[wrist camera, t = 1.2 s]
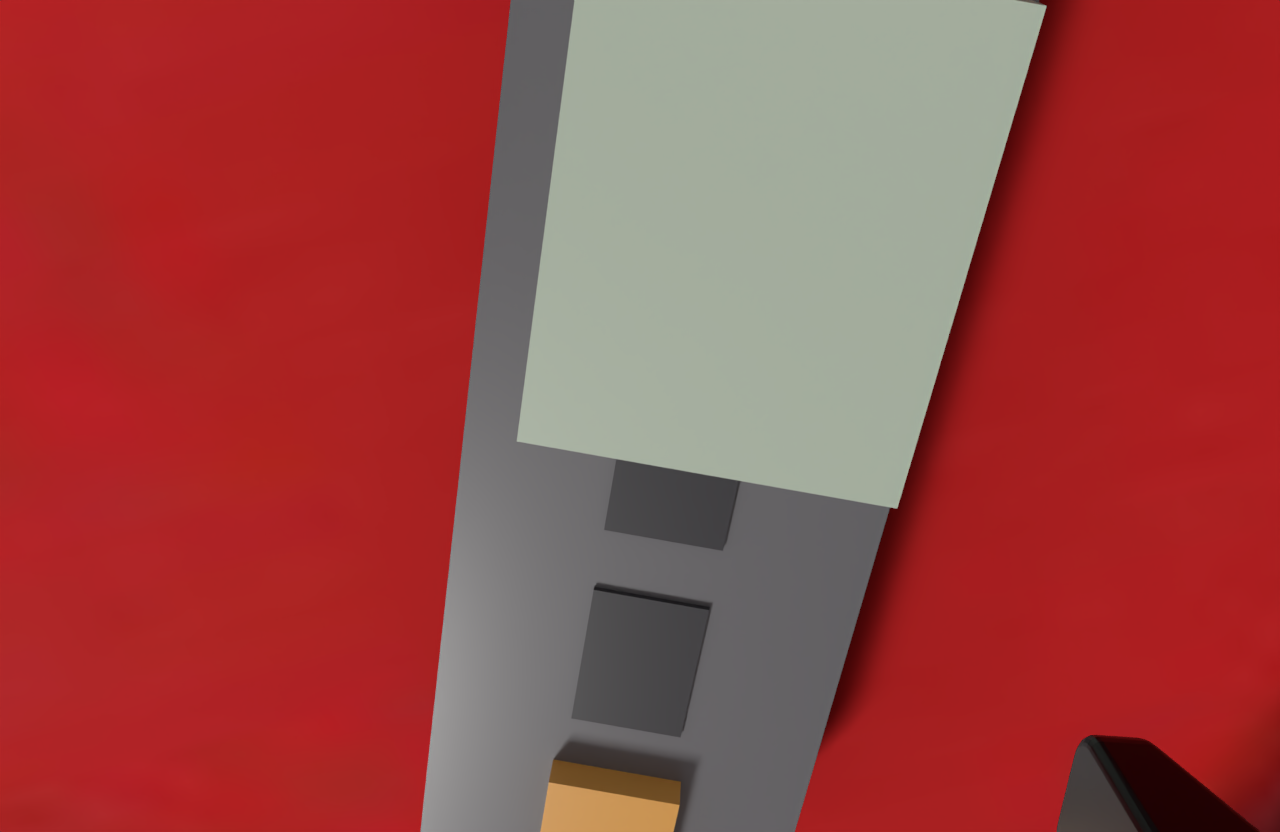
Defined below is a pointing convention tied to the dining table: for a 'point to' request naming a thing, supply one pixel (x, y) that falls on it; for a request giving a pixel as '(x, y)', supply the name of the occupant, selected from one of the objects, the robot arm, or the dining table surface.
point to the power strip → (619, 581)
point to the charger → (766, 230)
